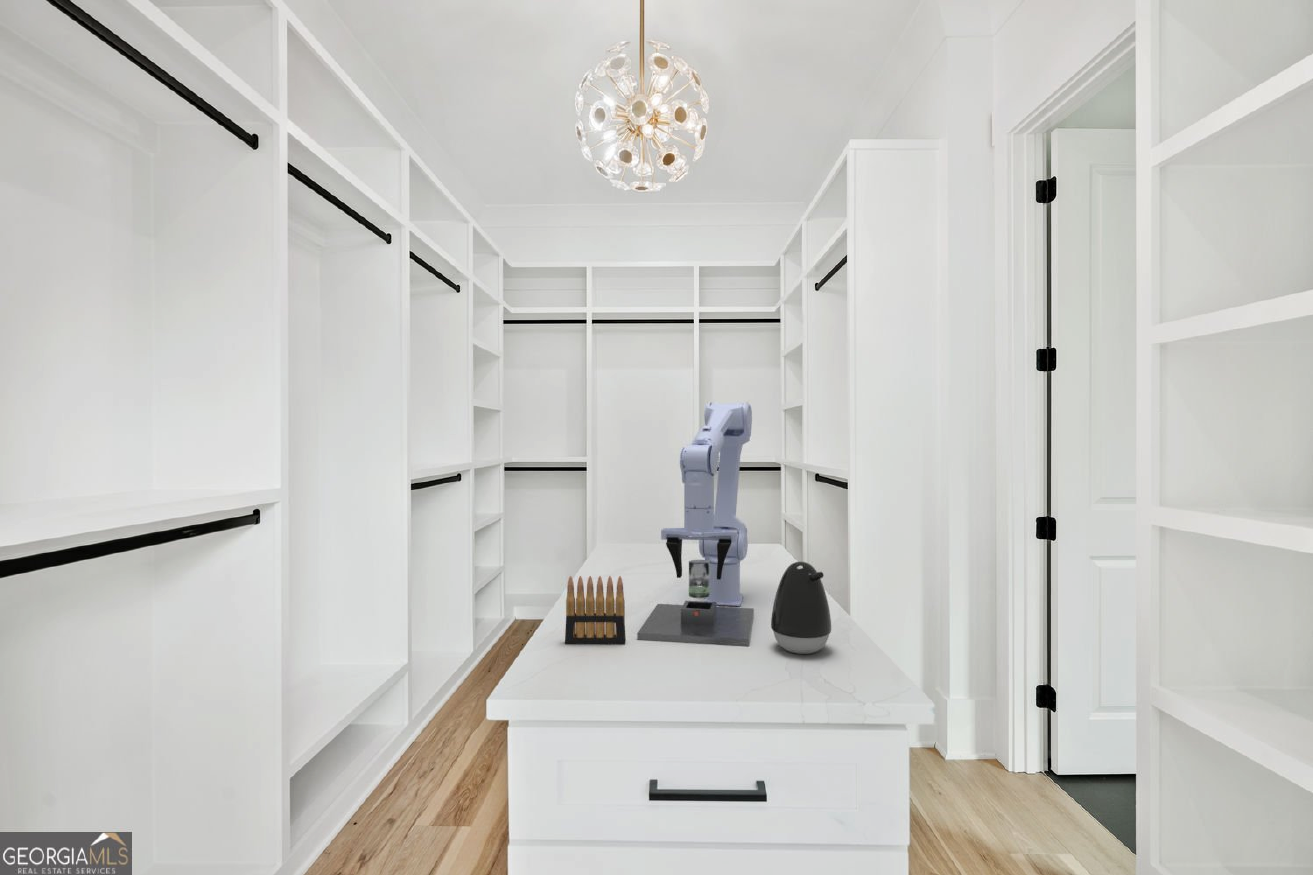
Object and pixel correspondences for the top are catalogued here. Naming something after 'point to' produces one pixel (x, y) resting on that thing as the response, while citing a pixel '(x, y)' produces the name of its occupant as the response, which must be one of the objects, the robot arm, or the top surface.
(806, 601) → the pump dispenser
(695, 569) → the grey cylindrical jar
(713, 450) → the robot arm
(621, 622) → the ammunition clip
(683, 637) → the post base
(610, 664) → the top surface
